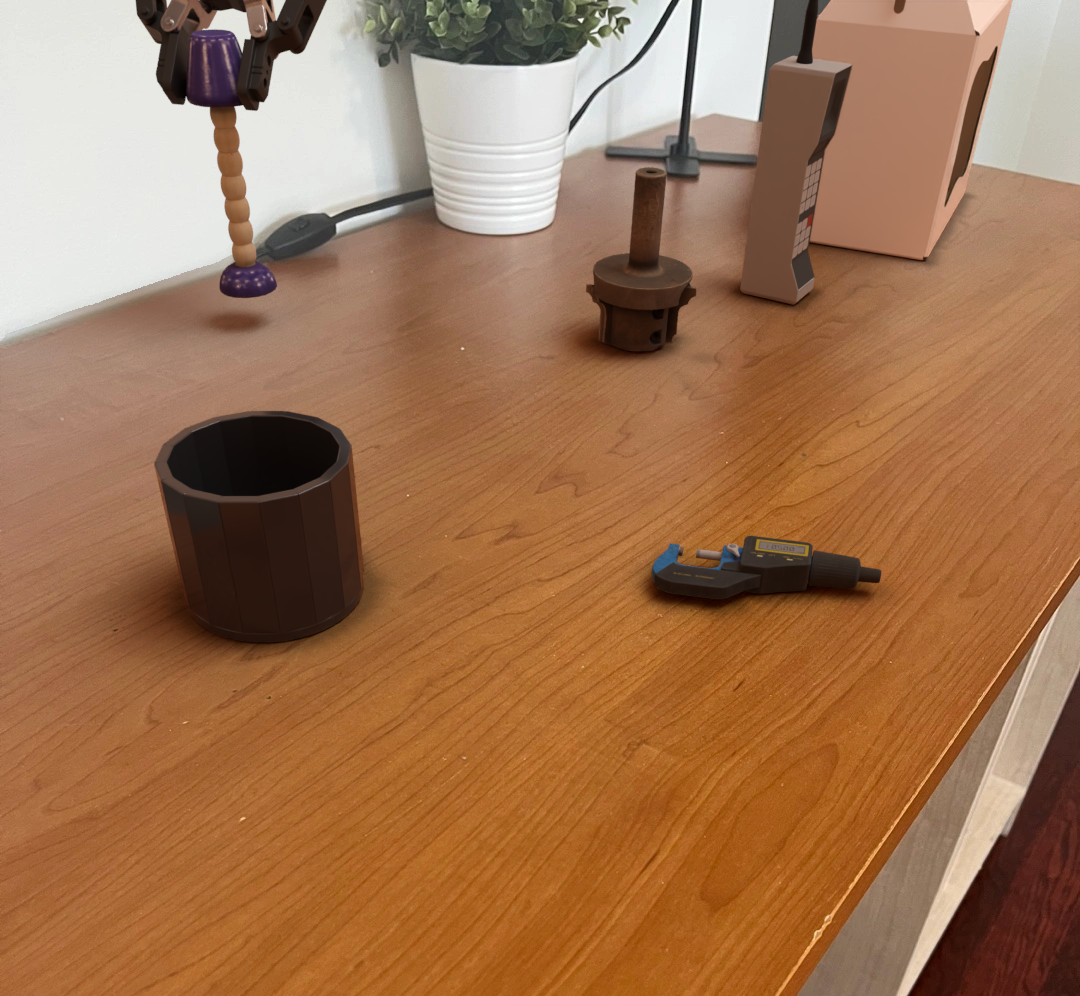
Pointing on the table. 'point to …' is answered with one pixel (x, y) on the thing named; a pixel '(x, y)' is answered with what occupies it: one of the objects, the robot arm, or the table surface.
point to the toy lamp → (227, 153)
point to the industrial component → (641, 277)
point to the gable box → (903, 117)
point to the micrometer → (759, 569)
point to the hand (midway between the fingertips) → (210, 99)
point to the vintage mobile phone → (791, 169)
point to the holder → (263, 524)
